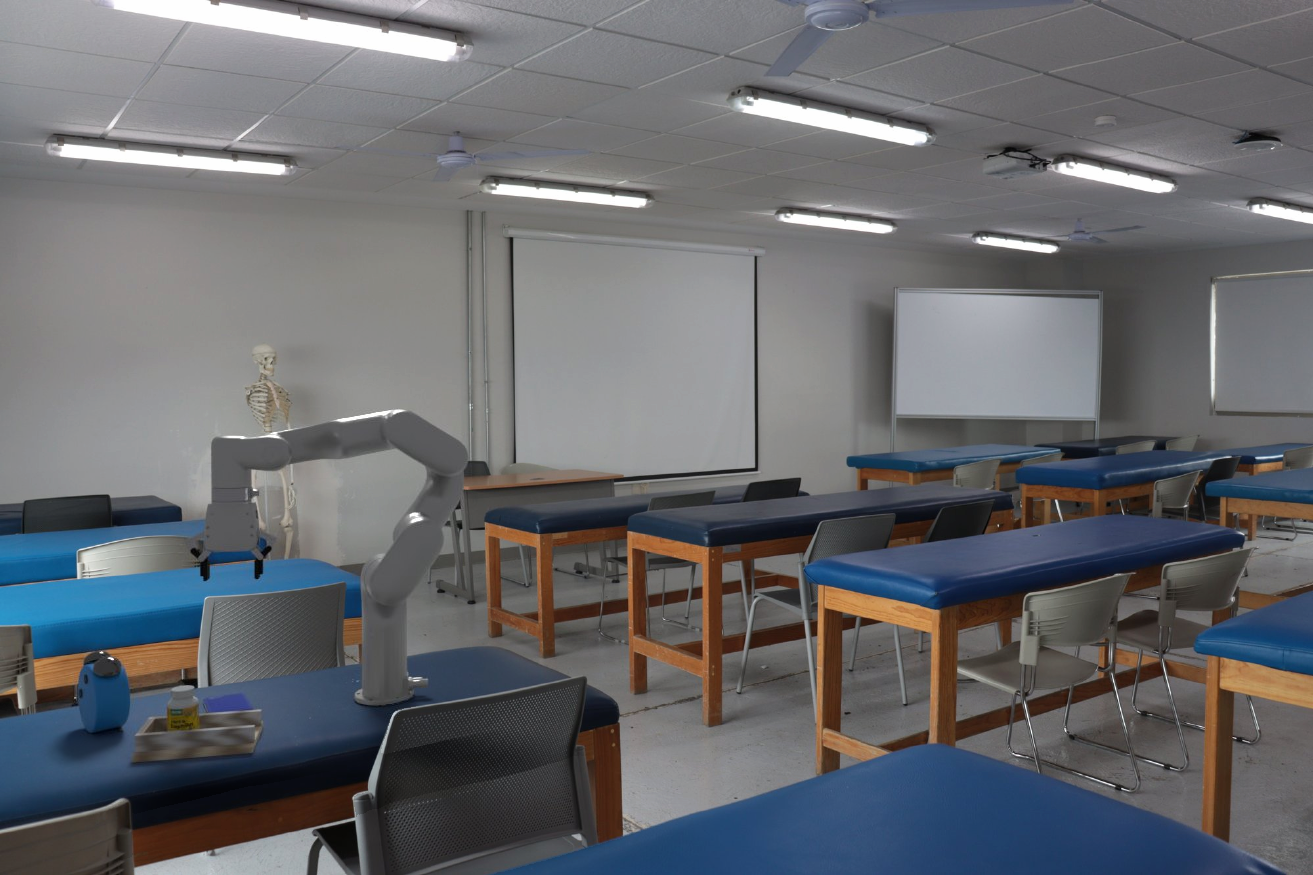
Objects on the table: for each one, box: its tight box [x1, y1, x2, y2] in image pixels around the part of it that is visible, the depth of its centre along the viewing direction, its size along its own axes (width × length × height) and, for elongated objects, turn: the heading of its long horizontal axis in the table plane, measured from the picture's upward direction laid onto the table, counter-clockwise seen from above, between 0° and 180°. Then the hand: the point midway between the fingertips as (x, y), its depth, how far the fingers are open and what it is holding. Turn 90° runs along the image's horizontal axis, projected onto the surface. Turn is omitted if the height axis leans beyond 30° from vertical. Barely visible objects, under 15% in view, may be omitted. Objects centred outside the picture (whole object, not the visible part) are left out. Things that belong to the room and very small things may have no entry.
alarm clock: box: [77, 649, 131, 734], centre depth 184 cm, size 13×6×15 cm, turn 45°
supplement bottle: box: [166, 684, 200, 731], centre depth 176 cm, size 5×5×10 cm
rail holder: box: [131, 709, 264, 763], centre depth 177 cm, size 20×14×4 cm
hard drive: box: [202, 692, 255, 713], centre depth 198 cm, size 2×8×12 cm
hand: (232, 579), depth 192 cm, fingers open, 9 cm apart
